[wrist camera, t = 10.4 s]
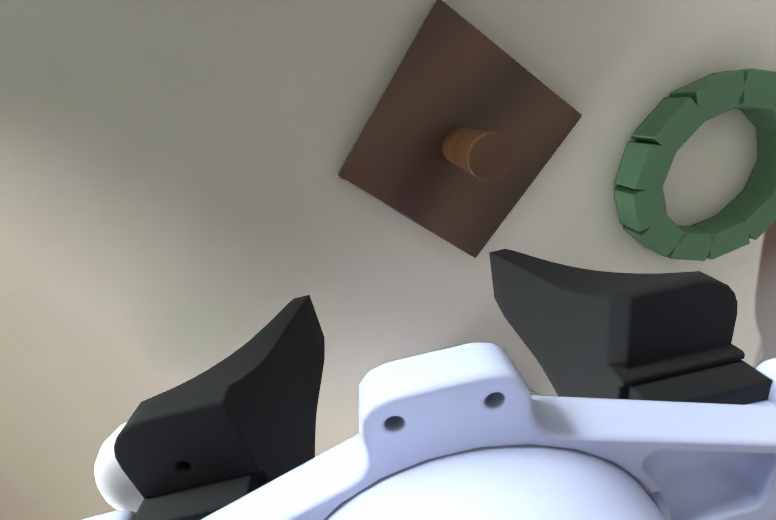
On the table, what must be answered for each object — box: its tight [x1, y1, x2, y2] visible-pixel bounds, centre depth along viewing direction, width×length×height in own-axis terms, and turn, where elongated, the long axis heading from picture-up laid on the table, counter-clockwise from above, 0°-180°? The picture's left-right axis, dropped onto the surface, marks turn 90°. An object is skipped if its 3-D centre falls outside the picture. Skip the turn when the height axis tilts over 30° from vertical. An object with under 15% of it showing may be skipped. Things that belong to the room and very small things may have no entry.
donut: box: [94, 422, 144, 512], centre depth 27 cm, size 10×3×10 cm
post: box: [338, 0, 582, 258], centre depth 18 cm, size 10×10×6 cm
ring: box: [614, 69, 776, 261], centre depth 22 cm, size 11×11×2 cm
